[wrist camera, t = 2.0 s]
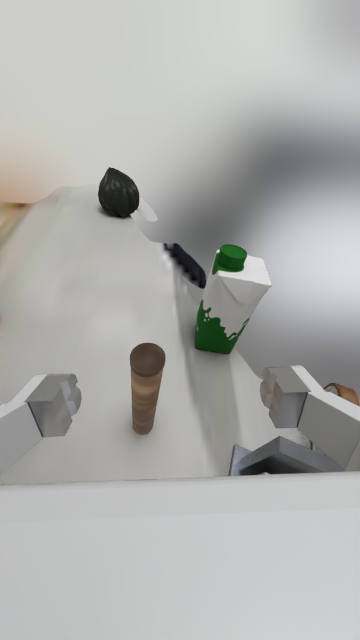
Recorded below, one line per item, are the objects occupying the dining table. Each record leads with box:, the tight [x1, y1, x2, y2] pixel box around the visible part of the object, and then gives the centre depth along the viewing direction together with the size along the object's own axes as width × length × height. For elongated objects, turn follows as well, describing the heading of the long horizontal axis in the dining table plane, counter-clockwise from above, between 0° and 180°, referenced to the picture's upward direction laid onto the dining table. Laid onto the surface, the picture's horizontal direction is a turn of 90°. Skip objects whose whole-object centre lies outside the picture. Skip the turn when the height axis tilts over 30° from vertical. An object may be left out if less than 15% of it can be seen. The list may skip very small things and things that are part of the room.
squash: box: [98, 167, 139, 217], centre depth 78 cm, size 14×15×15 cm
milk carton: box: [195, 244, 272, 354], centre depth 38 cm, size 9×9×20 cm
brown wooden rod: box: [130, 343, 165, 435], centre depth 25 cm, size 3×3×18 cm
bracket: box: [229, 436, 345, 476], centre depth 22 cm, size 12×10×12 cm
